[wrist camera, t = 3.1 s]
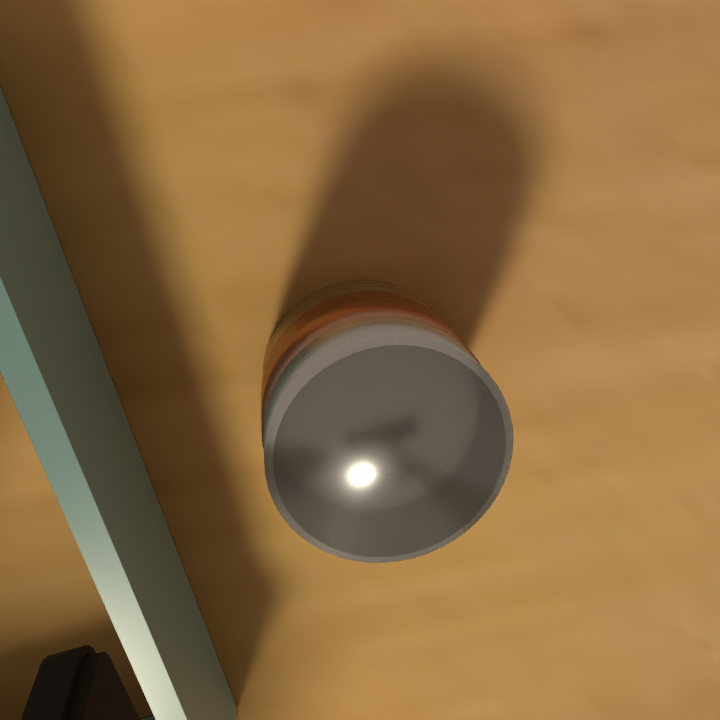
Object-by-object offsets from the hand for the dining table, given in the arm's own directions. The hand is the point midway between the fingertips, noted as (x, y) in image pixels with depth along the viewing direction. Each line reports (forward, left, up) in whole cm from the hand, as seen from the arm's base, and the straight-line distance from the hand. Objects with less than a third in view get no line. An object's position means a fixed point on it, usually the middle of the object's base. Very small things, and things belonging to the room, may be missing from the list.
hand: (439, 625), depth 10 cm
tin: (0, +1, -12) cm, 12 cm away
